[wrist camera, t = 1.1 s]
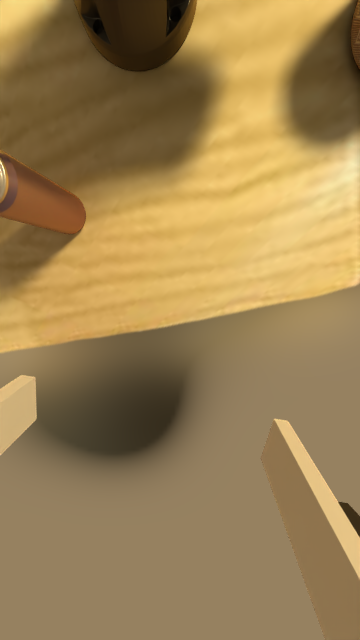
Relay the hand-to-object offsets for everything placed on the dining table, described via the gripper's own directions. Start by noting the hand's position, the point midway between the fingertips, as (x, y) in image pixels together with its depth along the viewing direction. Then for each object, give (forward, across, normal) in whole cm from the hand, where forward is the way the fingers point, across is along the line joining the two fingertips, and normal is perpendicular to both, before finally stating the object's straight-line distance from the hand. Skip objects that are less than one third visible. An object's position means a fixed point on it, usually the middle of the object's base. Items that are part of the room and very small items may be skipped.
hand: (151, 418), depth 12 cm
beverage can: (+26, -20, +13) cm, 35 cm away
